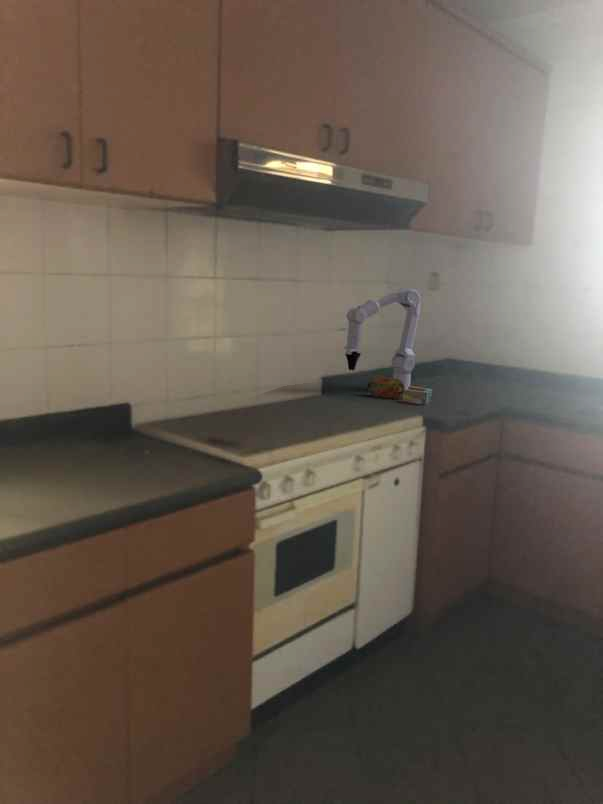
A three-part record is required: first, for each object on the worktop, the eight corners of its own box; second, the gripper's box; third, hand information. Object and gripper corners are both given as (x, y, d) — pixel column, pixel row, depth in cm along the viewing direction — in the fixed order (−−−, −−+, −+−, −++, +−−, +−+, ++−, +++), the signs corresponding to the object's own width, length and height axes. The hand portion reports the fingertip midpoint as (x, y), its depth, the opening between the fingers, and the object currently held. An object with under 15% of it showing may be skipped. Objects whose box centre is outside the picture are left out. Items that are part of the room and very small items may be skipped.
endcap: (408, 397, 276) (409, 386, 275) (430, 401, 273) (432, 389, 272) (402, 401, 267) (403, 389, 266) (426, 405, 264) (427, 392, 263)
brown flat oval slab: (366, 395, 275) (368, 375, 274) (368, 394, 278) (369, 374, 277) (402, 400, 271) (404, 379, 269) (403, 398, 274) (406, 378, 272)
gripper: (350, 335, 283) (347, 366, 286) (339, 337, 270) (337, 370, 272) (366, 336, 281) (363, 368, 283) (356, 339, 267) (353, 372, 270)
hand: (351, 369), depth 278 cm, fingers closed
